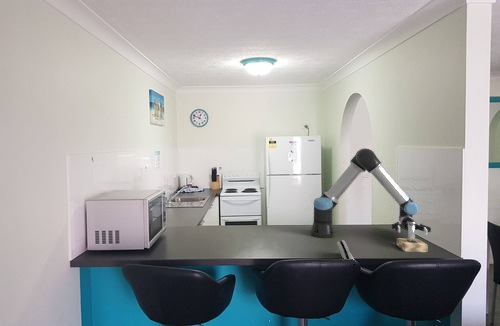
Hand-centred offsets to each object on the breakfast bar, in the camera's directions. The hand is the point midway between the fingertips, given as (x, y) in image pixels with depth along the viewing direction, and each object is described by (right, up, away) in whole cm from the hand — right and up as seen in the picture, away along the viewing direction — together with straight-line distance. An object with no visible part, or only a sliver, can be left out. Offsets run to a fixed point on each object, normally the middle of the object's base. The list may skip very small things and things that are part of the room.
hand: (413, 231), depth 178 cm
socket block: (+1, -10, +4) cm, 11 cm away
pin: (+1, -10, +4) cm, 11 cm away
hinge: (-42, -11, -14) cm, 45 cm away
